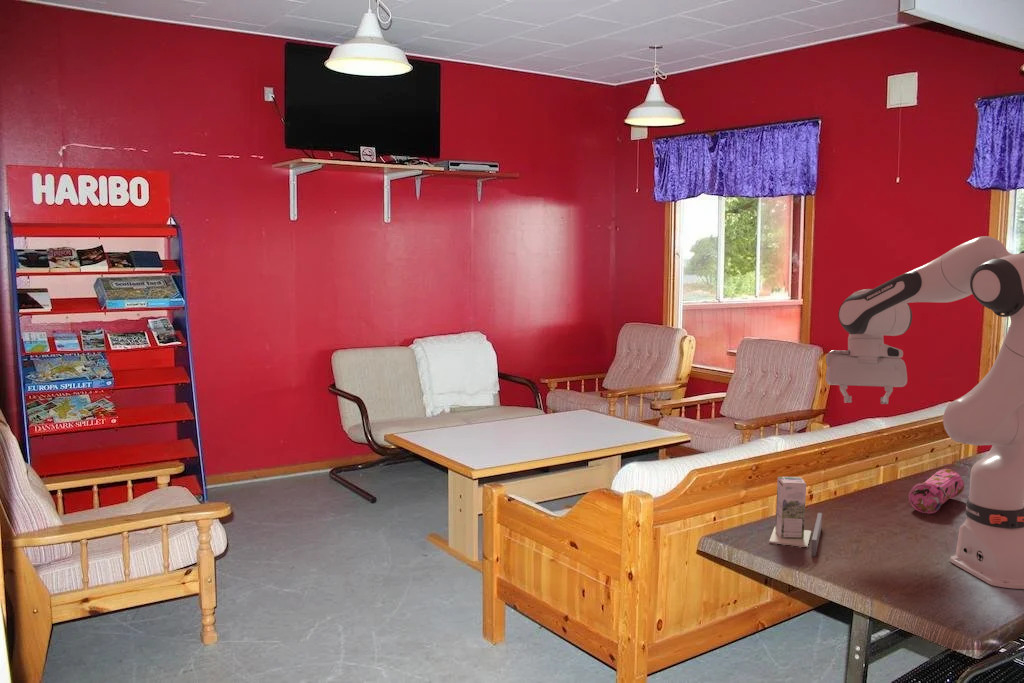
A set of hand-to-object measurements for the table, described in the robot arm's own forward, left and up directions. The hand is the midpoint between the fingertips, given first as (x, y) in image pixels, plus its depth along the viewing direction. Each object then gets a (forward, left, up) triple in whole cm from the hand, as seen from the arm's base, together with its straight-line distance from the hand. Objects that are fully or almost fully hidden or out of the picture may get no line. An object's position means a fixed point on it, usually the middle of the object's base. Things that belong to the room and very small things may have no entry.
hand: (866, 403), depth 228 cm
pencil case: (+13, -25, -32) cm, 42 cm away
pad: (-16, +23, -31) cm, 42 cm away
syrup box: (-16, +23, -31) cm, 42 cm away
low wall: (-18, +17, -31) cm, 40 cm away
